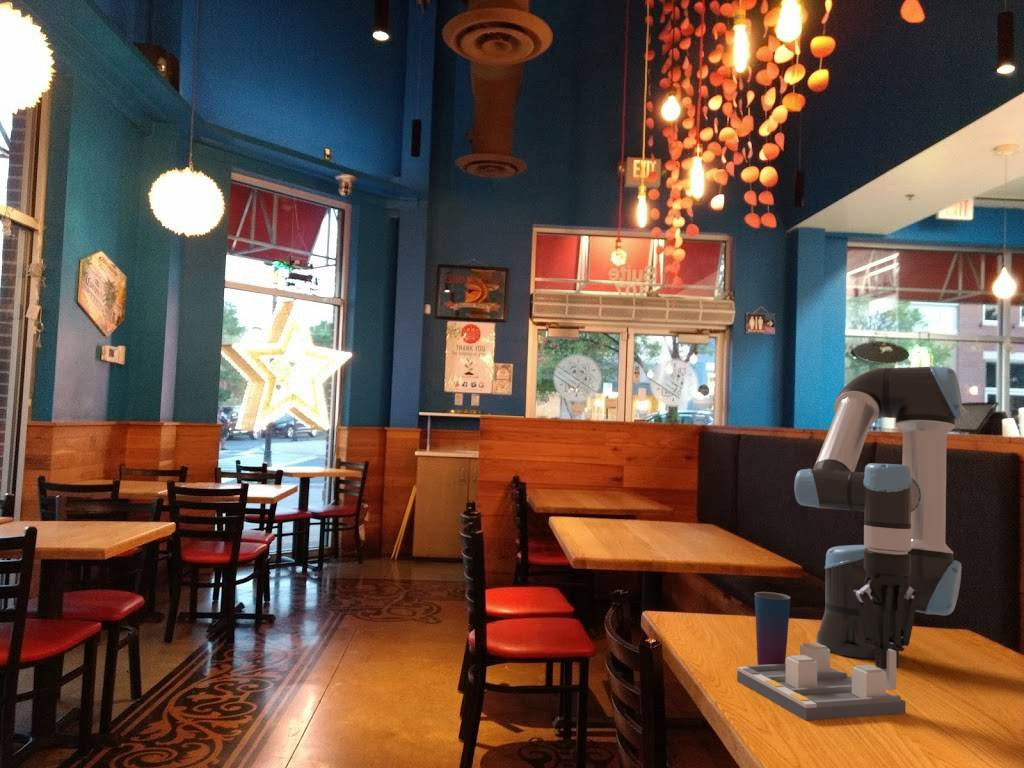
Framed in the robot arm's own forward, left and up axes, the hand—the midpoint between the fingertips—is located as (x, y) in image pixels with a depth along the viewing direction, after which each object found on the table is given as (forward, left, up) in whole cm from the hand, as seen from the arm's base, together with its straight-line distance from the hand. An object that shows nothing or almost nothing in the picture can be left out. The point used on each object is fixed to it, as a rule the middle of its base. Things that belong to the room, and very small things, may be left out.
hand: (886, 687), depth 129 cm
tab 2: (+4, 0, -1) cm, 4 cm away
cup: (+8, -21, -4) cm, 23 cm away
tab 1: (+4, -14, -1) cm, 15 cm away
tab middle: (+12, -7, -1) cm, 14 cm away
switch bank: (+9, -7, -4) cm, 12 cm away
